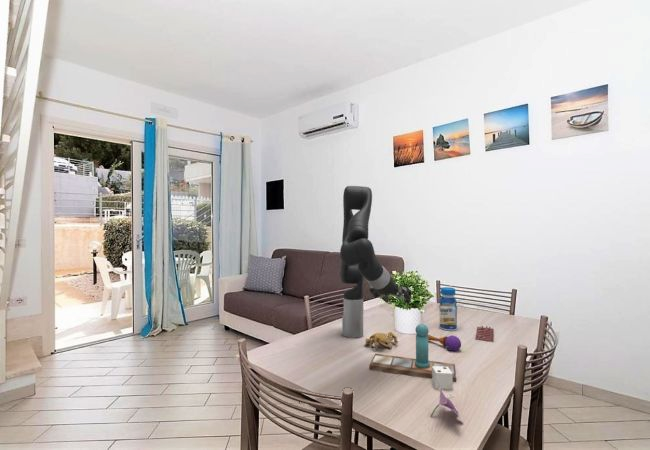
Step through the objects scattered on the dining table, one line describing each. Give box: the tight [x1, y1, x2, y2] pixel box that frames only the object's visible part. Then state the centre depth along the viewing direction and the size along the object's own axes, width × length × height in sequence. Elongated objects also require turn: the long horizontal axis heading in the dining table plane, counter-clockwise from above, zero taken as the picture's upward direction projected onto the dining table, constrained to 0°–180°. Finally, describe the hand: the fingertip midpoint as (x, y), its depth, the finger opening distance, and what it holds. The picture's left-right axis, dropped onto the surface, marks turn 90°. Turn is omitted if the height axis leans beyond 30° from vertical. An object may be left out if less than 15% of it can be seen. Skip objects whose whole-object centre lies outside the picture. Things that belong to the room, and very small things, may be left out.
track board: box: [368, 353, 457, 383], centre depth 114 cm, size 29×11×2 cm, turn 70°
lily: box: [430, 373, 463, 424], centre depth 85 cm, size 12×12×10 cm
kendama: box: [428, 334, 462, 352], centre depth 137 cm, size 6×6×20 cm
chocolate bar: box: [475, 325, 495, 343], centre depth 150 cm, size 7×19×2 cm, turn 152°
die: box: [431, 366, 454, 390], centre depth 102 cm, size 5×5×5 cm
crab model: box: [365, 331, 399, 350], centre depth 137 cm, size 16×13×6 cm
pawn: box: [414, 323, 431, 369], centre depth 113 cm, size 5×5×14 cm
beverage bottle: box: [438, 286, 458, 332], centre depth 159 cm, size 8×8×20 cm
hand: (397, 301), depth 119 cm, fingers open, 8 cm apart
